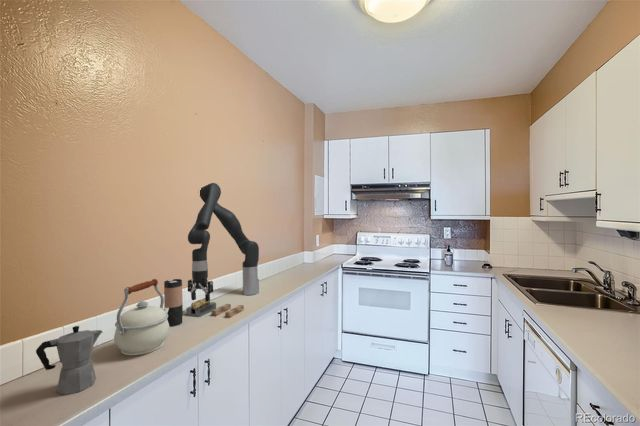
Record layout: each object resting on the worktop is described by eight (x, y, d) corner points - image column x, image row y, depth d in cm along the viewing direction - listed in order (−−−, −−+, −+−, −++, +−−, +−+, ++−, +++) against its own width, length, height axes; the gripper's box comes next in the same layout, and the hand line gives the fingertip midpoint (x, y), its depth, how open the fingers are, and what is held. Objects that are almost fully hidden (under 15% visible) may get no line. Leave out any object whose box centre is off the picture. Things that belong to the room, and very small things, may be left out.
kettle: (141, 363, 104) (140, 291, 103) (97, 359, 107) (95, 289, 107) (187, 334, 128) (186, 275, 128) (150, 331, 132) (149, 274, 132)
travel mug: (178, 326, 137) (177, 282, 136) (161, 326, 137) (160, 282, 137) (185, 320, 144) (185, 278, 144) (170, 320, 144) (169, 279, 144)
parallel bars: (226, 308, 162) (226, 303, 162) (243, 310, 158) (243, 305, 158) (211, 315, 150) (211, 310, 150) (229, 317, 147) (229, 313, 147)
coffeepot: (100, 371, 99) (99, 316, 99) (107, 382, 92) (106, 323, 92) (35, 392, 87) (34, 331, 87) (38, 406, 81) (37, 340, 81)
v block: (203, 307, 163) (202, 301, 163) (216, 309, 160) (216, 302, 160) (186, 315, 152) (186, 308, 152) (200, 316, 149) (200, 309, 149)
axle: (204, 303, 161) (204, 296, 161) (210, 304, 160) (210, 297, 160) (190, 309, 152) (191, 301, 152) (196, 310, 150) (196, 303, 150)
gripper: (183, 269, 154) (184, 301, 154) (206, 271, 149) (206, 303, 149) (194, 267, 161) (194, 297, 161) (216, 268, 156) (216, 299, 156)
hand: (200, 300), depth 155 cm, fingers open, 8 cm apart
